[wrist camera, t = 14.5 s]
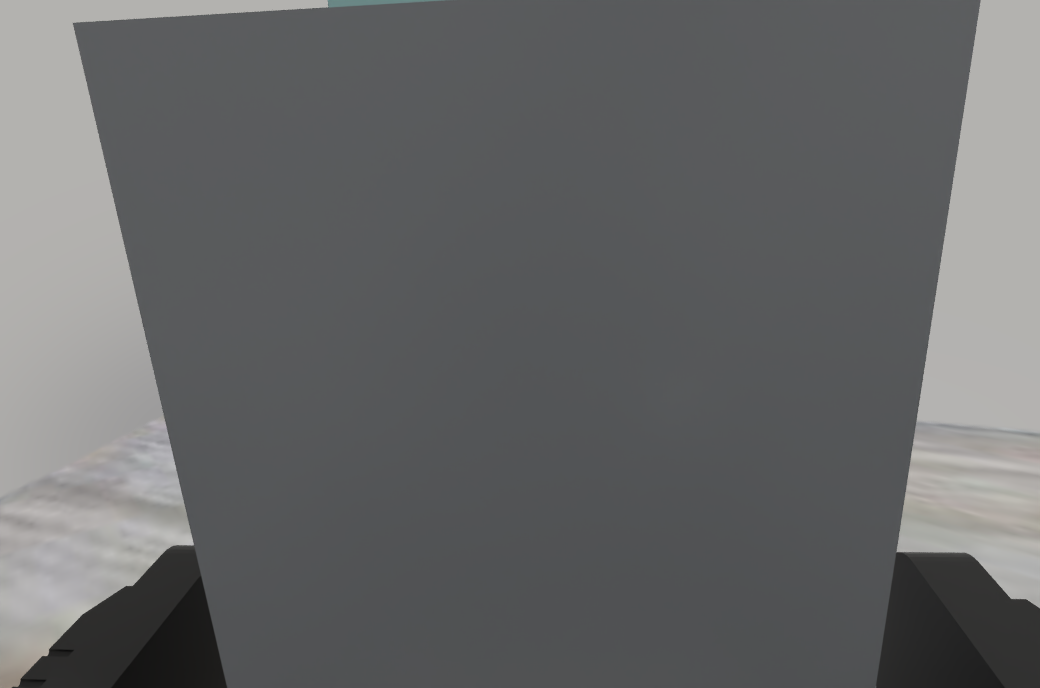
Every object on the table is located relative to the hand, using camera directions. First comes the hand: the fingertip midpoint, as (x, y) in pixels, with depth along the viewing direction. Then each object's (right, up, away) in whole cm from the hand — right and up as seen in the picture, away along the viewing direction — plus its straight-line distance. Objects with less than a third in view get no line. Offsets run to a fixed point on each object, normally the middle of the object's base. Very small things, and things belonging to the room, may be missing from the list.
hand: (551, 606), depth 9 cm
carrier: (0, -8, +3) cm, 8 cm away
